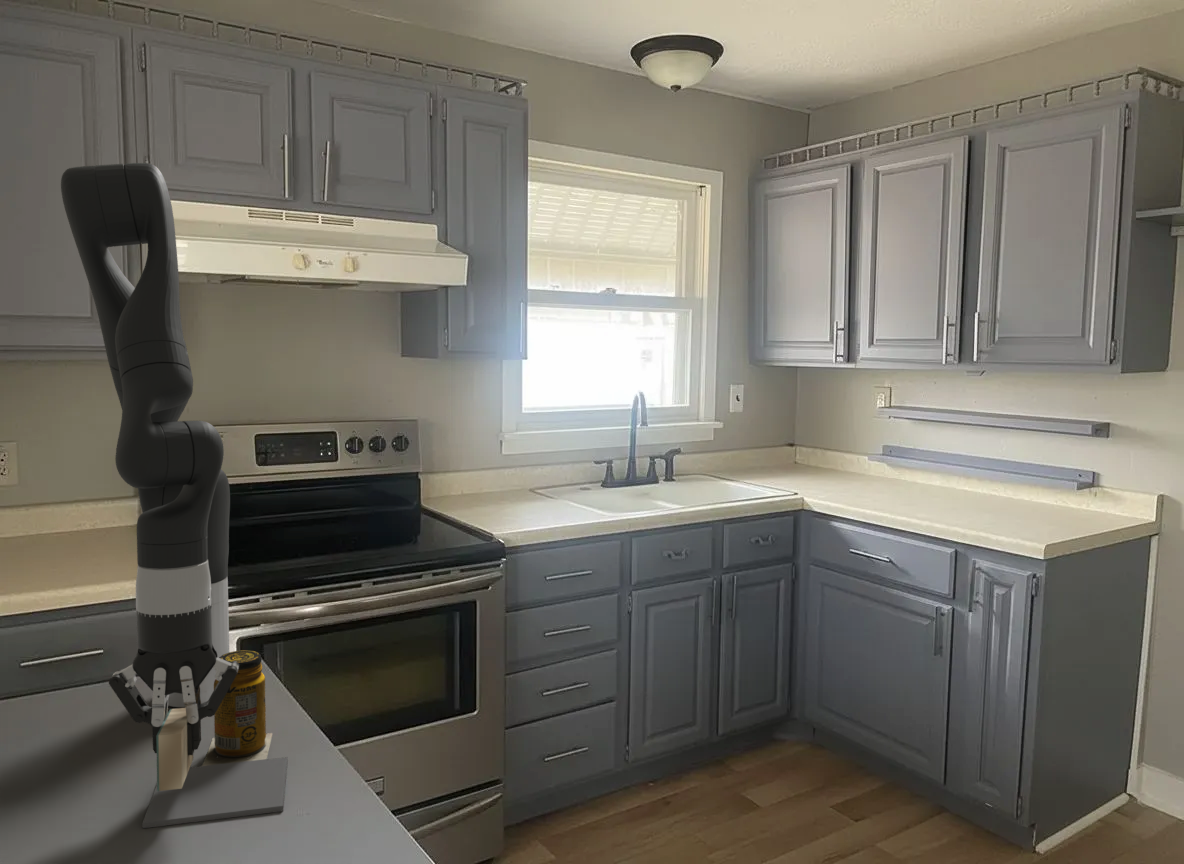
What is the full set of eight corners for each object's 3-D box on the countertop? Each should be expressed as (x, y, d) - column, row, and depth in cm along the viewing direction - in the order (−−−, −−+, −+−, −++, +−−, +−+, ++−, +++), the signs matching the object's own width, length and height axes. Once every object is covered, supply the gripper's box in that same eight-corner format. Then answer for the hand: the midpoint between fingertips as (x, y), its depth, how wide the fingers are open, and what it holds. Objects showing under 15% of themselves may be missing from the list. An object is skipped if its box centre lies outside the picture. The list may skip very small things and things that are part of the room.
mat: (162, 775, 106) (162, 770, 106) (287, 761, 110) (287, 756, 110) (142, 828, 94) (142, 822, 94) (283, 810, 98) (283, 805, 98)
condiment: (272, 734, 117) (271, 645, 116) (265, 764, 109) (264, 668, 108) (212, 739, 115) (210, 649, 114) (201, 770, 107) (199, 673, 106)
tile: (156, 735, 95) (170, 709, 102) (157, 791, 95) (170, 760, 103) (181, 733, 95) (192, 707, 103) (181, 788, 96) (193, 758, 103)
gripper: (95, 616, 93) (100, 776, 95) (237, 608, 97) (240, 762, 98) (112, 596, 100) (117, 745, 102) (244, 589, 104) (246, 733, 106)
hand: (177, 753), depth 100 cm, fingers closed on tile, 2 cm apart
